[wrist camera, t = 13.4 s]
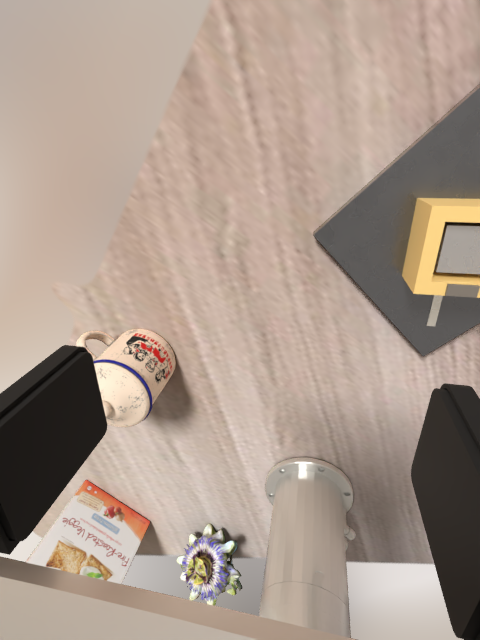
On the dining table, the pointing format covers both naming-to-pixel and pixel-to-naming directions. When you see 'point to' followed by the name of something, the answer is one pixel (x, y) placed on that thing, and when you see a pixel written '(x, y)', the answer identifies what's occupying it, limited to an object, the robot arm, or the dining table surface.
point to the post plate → (396, 221)
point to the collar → (426, 247)
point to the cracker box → (92, 537)
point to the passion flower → (209, 565)
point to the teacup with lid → (130, 373)
